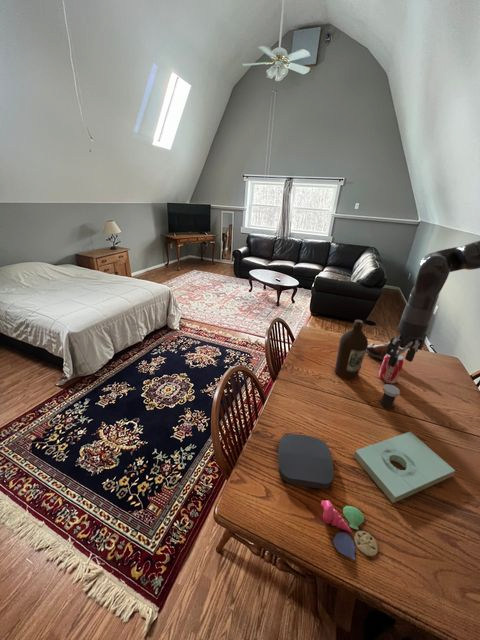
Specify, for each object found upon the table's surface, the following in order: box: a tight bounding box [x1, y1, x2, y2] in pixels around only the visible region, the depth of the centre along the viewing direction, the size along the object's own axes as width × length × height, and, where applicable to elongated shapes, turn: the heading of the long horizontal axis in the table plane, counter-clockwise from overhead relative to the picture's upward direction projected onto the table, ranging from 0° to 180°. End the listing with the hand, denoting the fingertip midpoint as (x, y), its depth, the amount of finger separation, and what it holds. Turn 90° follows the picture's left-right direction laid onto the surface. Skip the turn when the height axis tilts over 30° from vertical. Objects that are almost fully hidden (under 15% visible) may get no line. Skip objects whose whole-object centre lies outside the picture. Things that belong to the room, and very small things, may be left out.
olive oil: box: [334, 319, 369, 381], centre depth 111 cm, size 11×11×25 cm
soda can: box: [378, 352, 404, 384], centre depth 110 cm, size 7×7×12 cm
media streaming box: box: [277, 433, 335, 490], centre depth 75 cm, size 15×15×3 cm
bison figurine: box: [365, 341, 392, 361], centre depth 127 cm, size 12×7×10 cm, turn 43°
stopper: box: [380, 383, 401, 408], centre depth 98 cm, size 5×5×7 cm
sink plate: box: [353, 431, 456, 504], centre depth 76 cm, size 22×14×2 cm, turn 110°
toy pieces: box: [320, 500, 379, 561], centre depth 60 cm, size 12×11×4 cm
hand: (399, 362), depth 89 cm, fingers open, 8 cm apart
